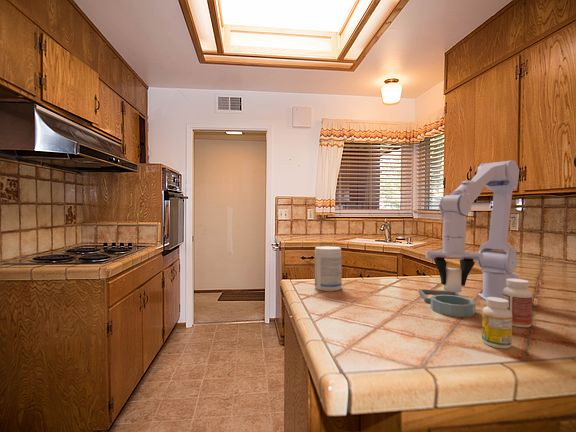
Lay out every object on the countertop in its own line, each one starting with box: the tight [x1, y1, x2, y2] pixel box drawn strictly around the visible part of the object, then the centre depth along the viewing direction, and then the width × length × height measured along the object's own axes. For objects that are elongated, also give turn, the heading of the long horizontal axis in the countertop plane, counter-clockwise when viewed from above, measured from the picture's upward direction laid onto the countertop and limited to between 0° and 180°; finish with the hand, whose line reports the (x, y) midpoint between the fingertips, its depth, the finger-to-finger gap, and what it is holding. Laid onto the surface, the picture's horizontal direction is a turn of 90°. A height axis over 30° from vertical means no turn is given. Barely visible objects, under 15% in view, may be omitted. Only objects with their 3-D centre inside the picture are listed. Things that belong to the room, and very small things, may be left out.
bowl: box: [429, 294, 477, 318], centre depth 91 cm, size 11×11×3 cm
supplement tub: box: [314, 245, 343, 292], centre depth 115 cm, size 10×10×15 cm
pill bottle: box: [502, 278, 533, 328], centre depth 81 cm, size 6×6×11 cm
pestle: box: [443, 267, 463, 293], centre depth 91 cm, size 4×4×6 cm
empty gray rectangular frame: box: [418, 288, 464, 304], centre depth 104 cm, size 12×12×1 cm
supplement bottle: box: [481, 297, 513, 350], centre depth 69 cm, size 5×5×10 cm
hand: (452, 284), depth 91 cm, fingers closed on pestle, 4 cm apart
